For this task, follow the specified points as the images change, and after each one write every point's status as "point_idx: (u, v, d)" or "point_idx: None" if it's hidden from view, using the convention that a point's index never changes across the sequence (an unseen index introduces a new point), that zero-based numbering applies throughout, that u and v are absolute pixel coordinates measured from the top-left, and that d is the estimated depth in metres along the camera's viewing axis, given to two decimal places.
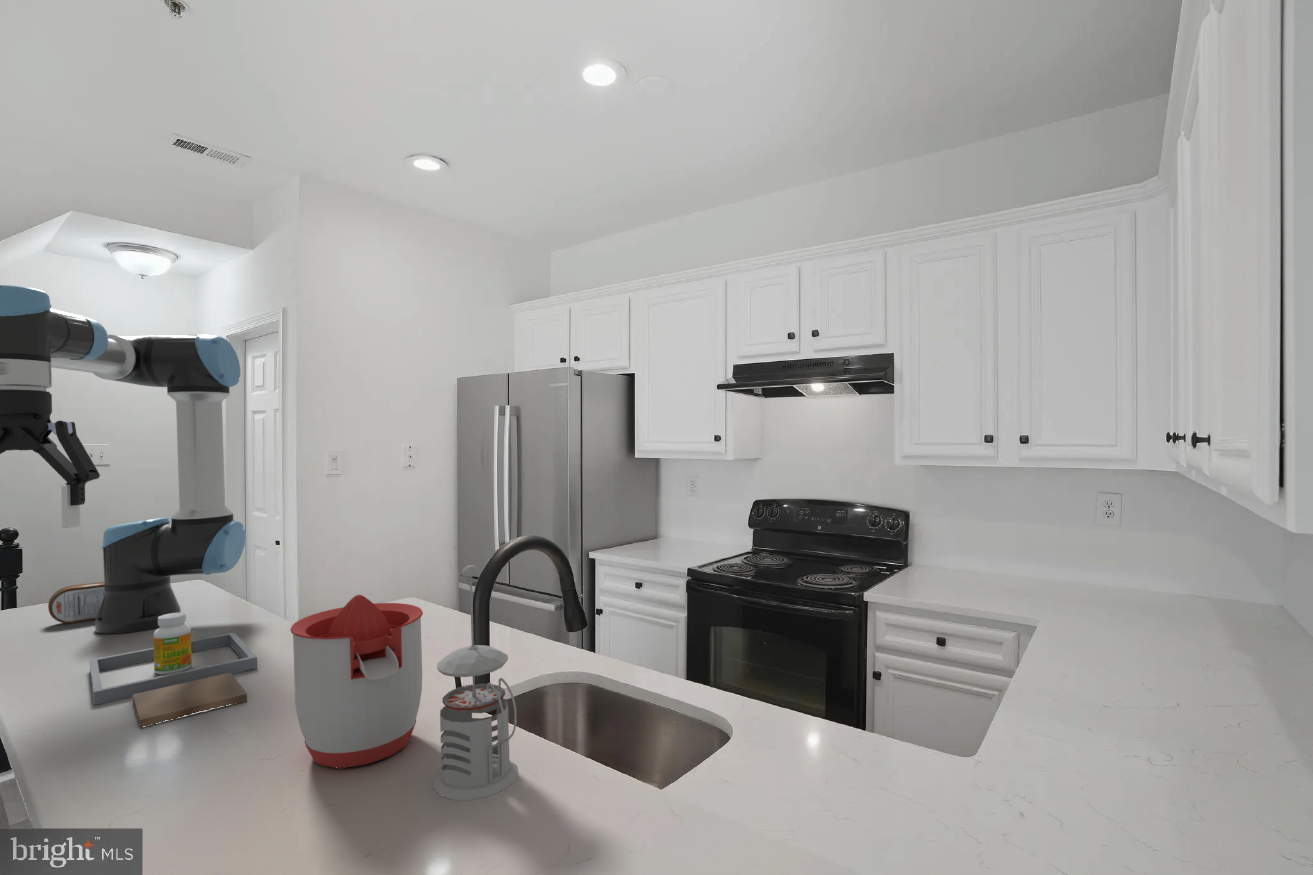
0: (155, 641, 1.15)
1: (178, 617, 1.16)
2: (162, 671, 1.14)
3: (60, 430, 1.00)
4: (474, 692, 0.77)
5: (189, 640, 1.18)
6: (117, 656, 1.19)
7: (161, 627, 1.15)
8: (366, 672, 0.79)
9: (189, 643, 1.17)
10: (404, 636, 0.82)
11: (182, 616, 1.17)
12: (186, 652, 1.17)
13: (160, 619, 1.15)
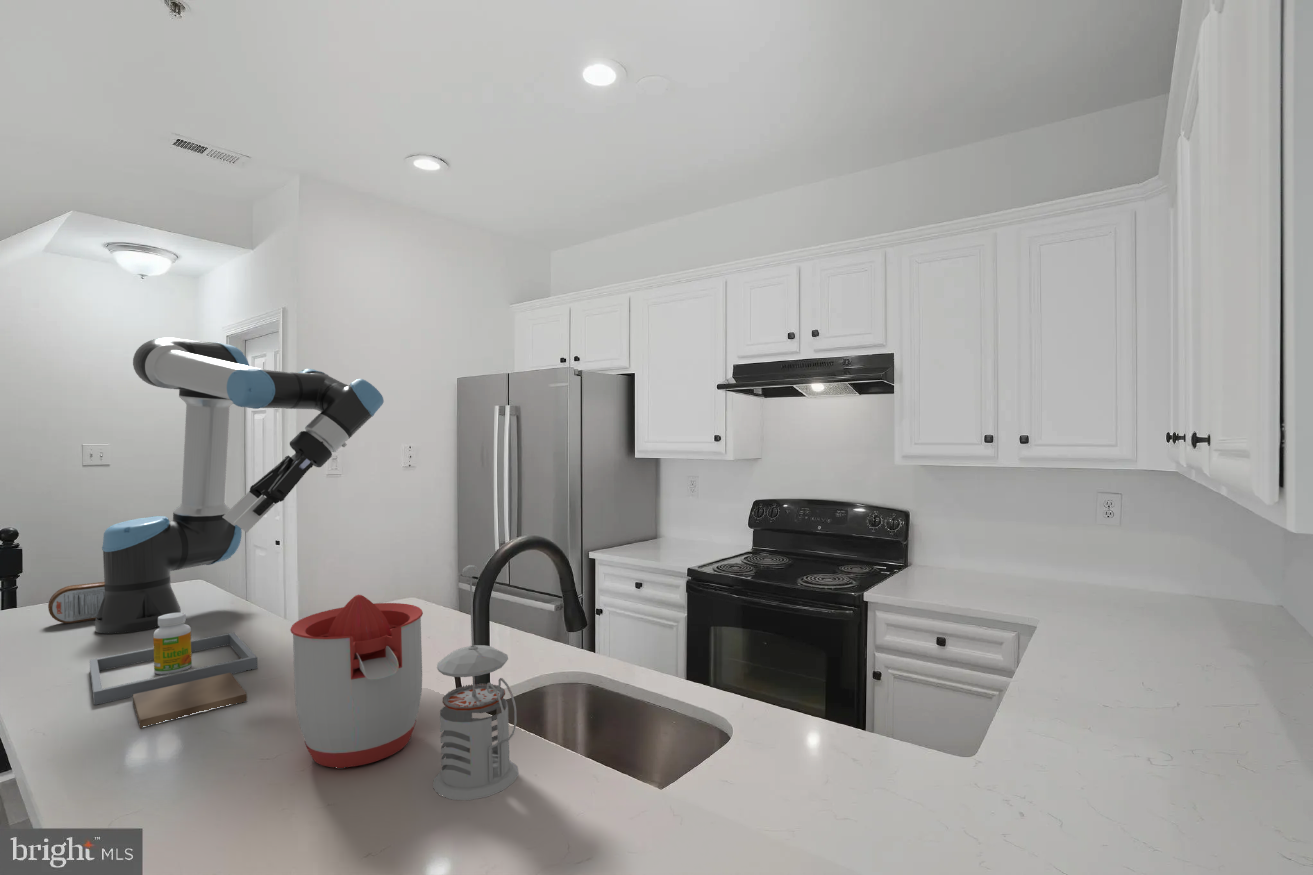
0: (155, 641, 1.15)
1: (178, 617, 1.16)
2: (162, 671, 1.14)
3: None
4: (474, 692, 0.77)
5: (189, 640, 1.18)
6: (117, 656, 1.19)
7: (161, 627, 1.15)
8: (366, 672, 0.79)
9: (189, 643, 1.17)
10: (404, 636, 0.82)
11: (182, 616, 1.17)
12: (186, 652, 1.17)
13: (160, 619, 1.15)
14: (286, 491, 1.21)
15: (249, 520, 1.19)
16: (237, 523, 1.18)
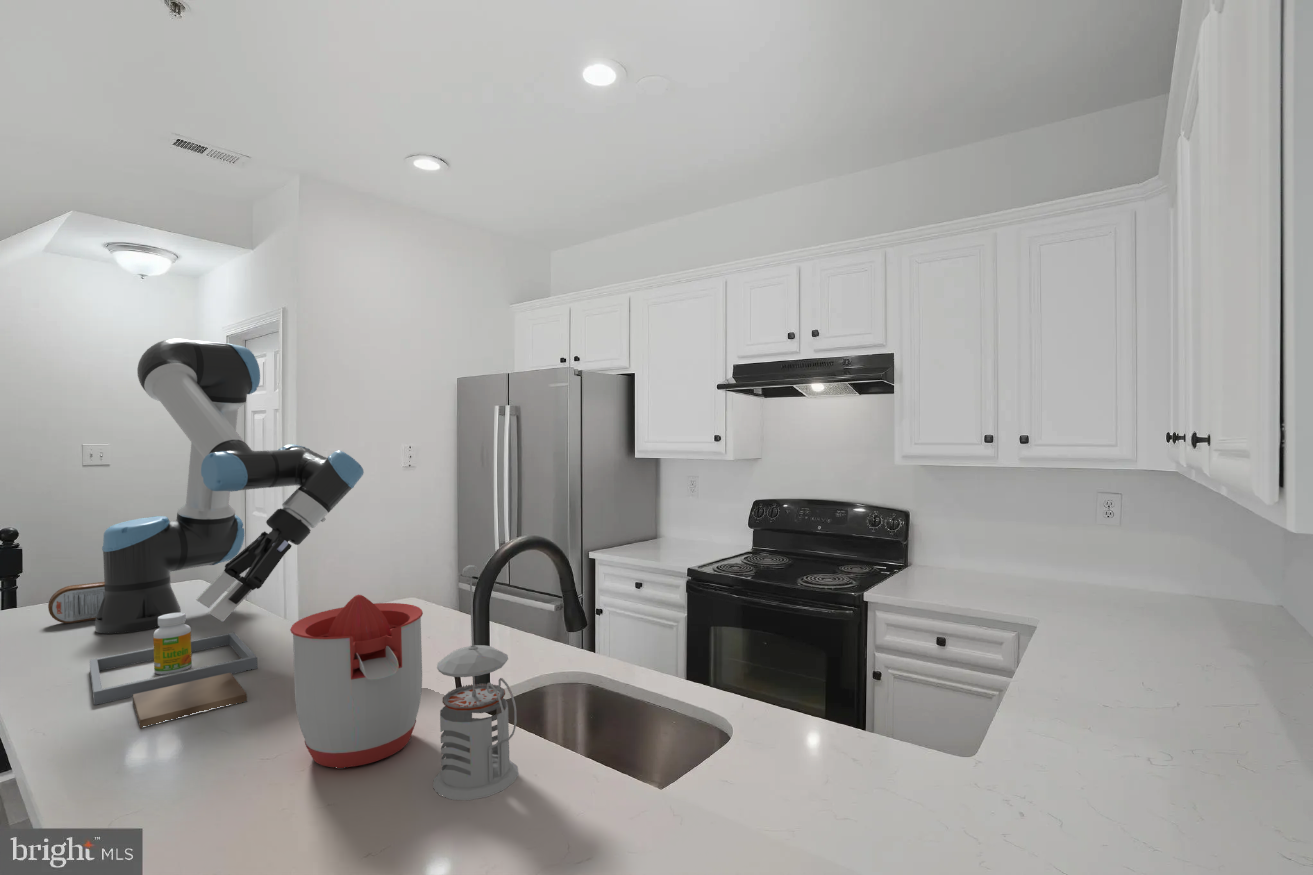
0: (155, 641, 1.15)
1: (178, 617, 1.16)
2: (162, 671, 1.14)
3: None
4: (474, 692, 0.77)
5: (189, 640, 1.18)
6: (117, 656, 1.19)
7: (161, 627, 1.15)
8: (366, 672, 0.79)
9: (189, 643, 1.17)
10: (404, 636, 0.82)
11: (182, 616, 1.17)
12: (186, 652, 1.17)
13: (160, 619, 1.15)
14: (263, 577, 1.17)
15: (225, 609, 1.15)
16: (212, 613, 1.14)
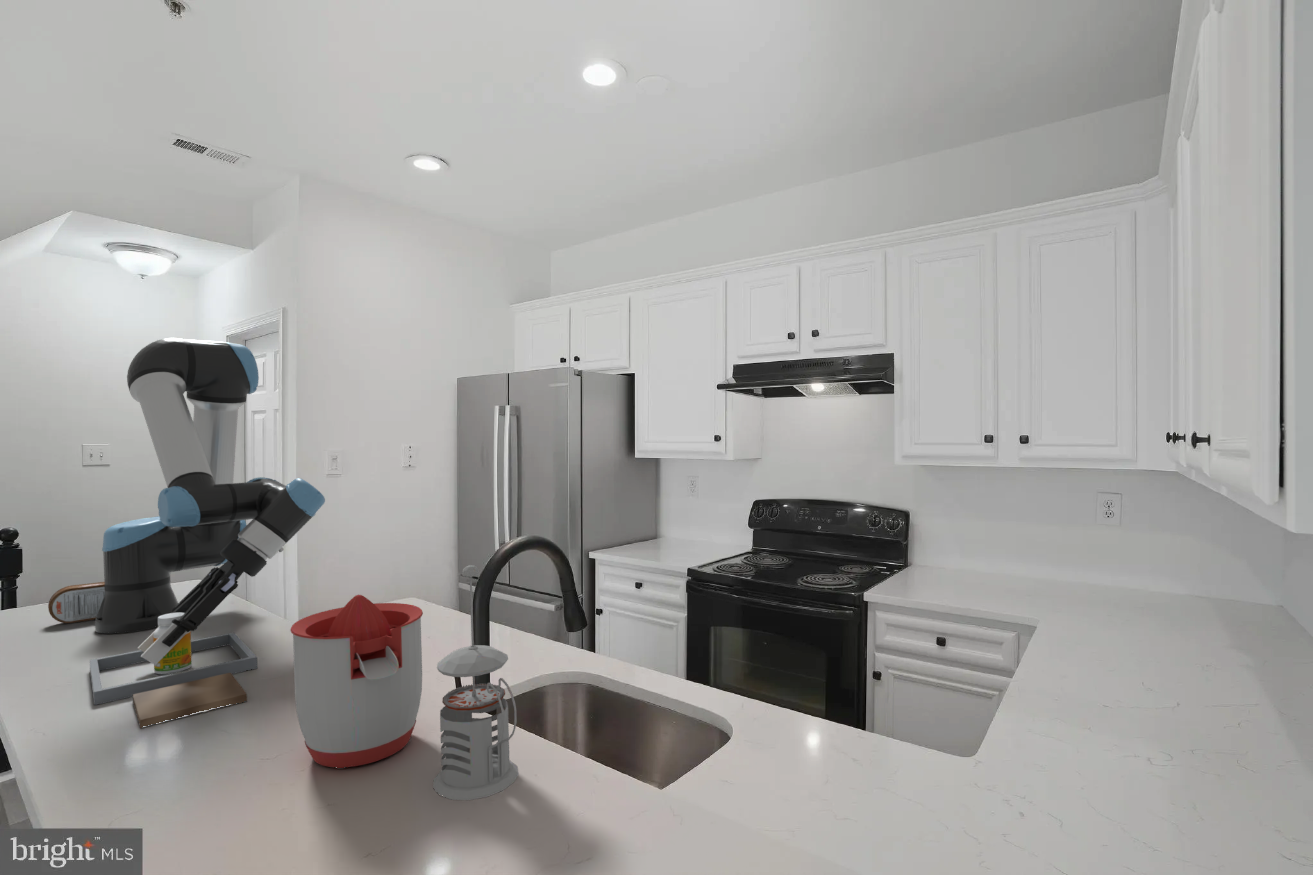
0: None
1: (178, 617, 1.16)
2: (162, 671, 1.14)
3: None
4: (474, 692, 0.77)
5: (189, 640, 1.18)
6: (117, 656, 1.19)
7: (161, 627, 1.15)
8: (366, 672, 0.79)
9: (189, 643, 1.17)
10: (404, 636, 0.82)
11: None
12: (185, 652, 1.17)
13: (160, 619, 1.15)
14: (199, 620, 1.14)
15: (158, 652, 1.13)
16: (144, 656, 1.12)
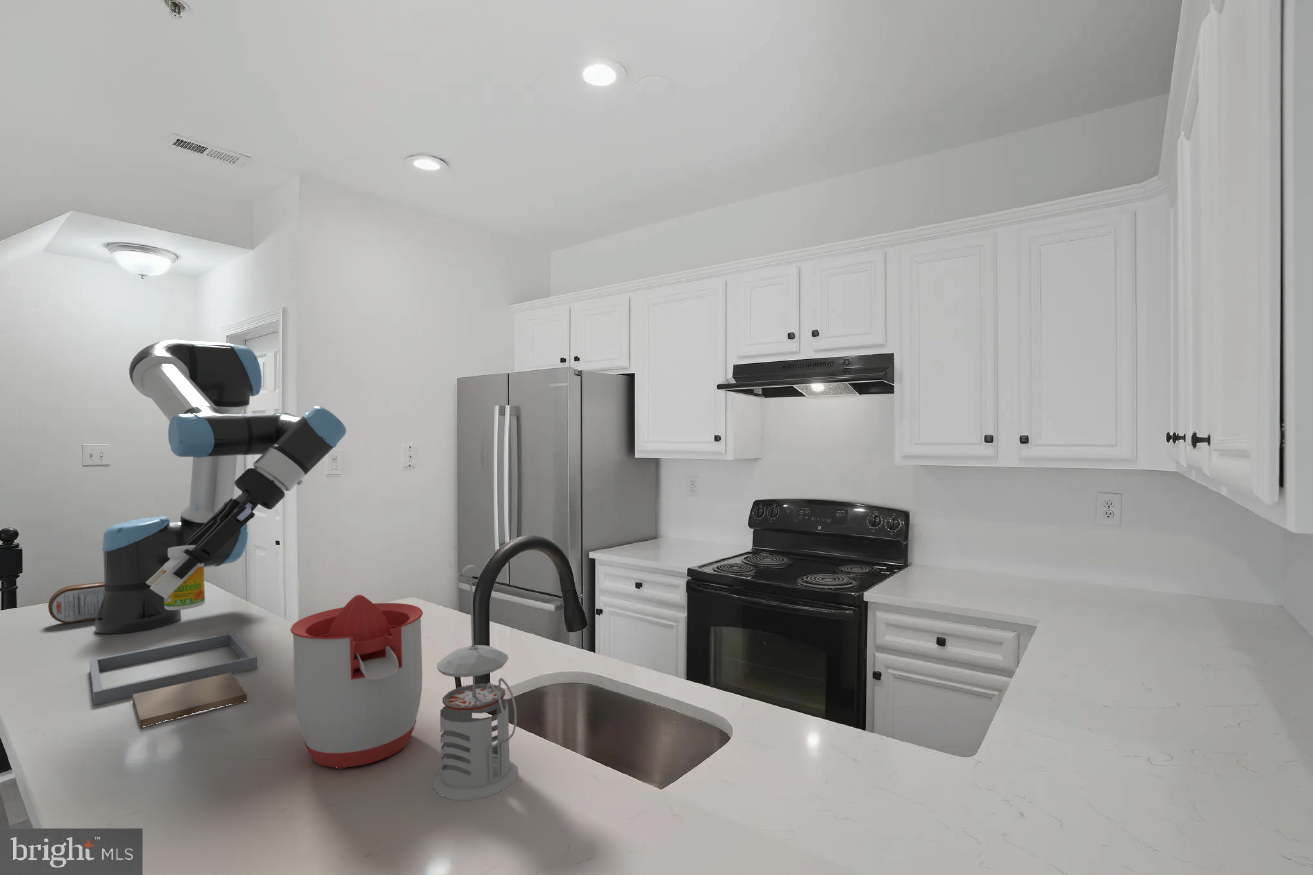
0: None
1: (190, 548, 1.06)
2: (173, 606, 1.04)
3: None
4: (474, 692, 0.77)
5: (202, 574, 1.08)
6: (117, 656, 1.19)
7: (171, 559, 1.05)
8: (366, 672, 0.79)
9: (202, 577, 1.08)
10: (404, 636, 0.82)
11: None
12: (198, 586, 1.07)
13: (170, 550, 1.05)
14: (213, 550, 1.04)
15: (169, 585, 1.03)
16: (154, 588, 1.02)
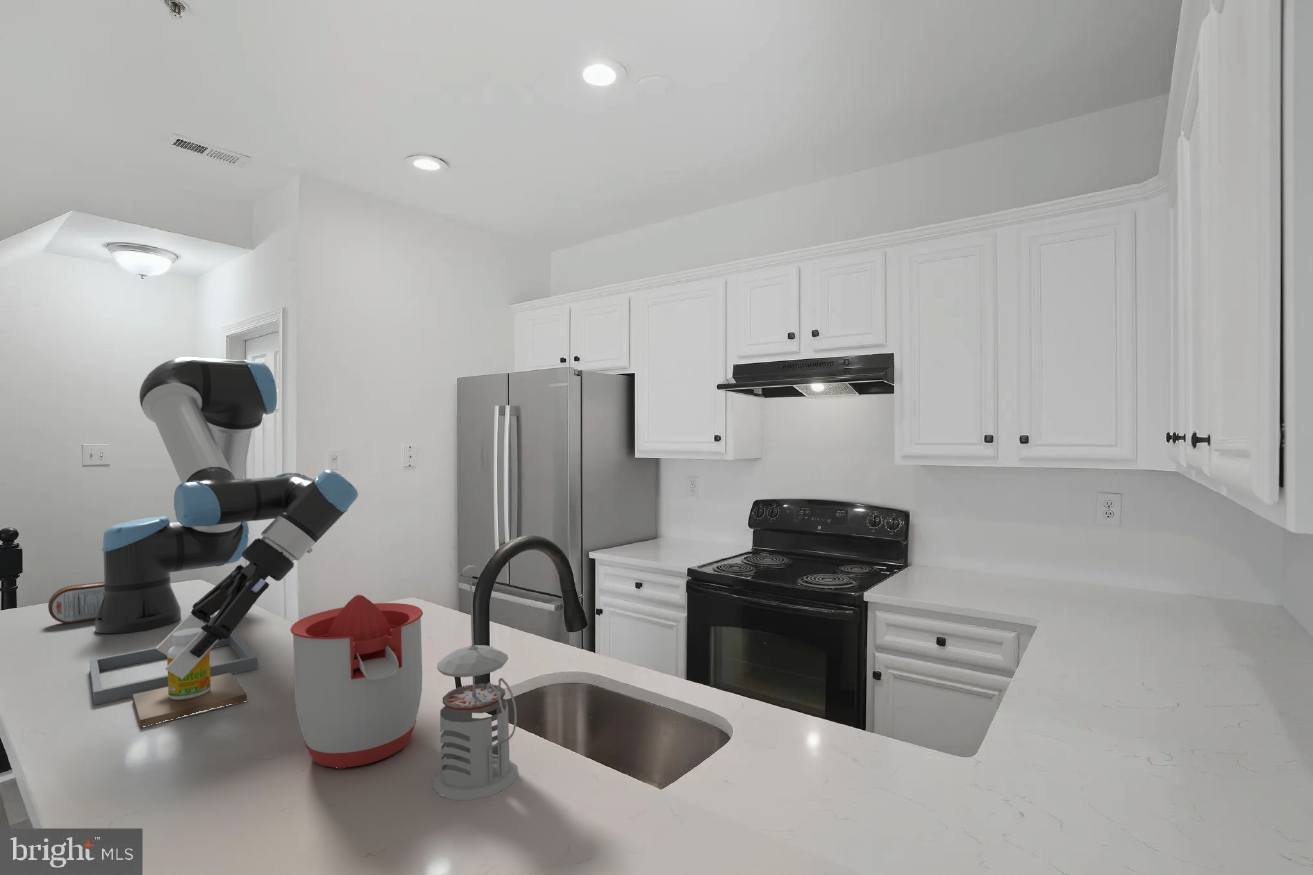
0: (169, 661, 1.00)
1: (195, 634, 1.01)
2: (177, 696, 1.00)
3: None
4: (474, 692, 0.77)
5: (208, 660, 1.03)
6: (117, 656, 1.19)
7: (176, 645, 1.01)
8: (366, 672, 0.79)
9: (208, 663, 1.03)
10: (404, 636, 0.82)
11: None
12: (204, 673, 1.02)
13: (175, 636, 1.00)
14: (233, 625, 0.98)
15: (186, 664, 0.96)
16: (170, 669, 0.95)
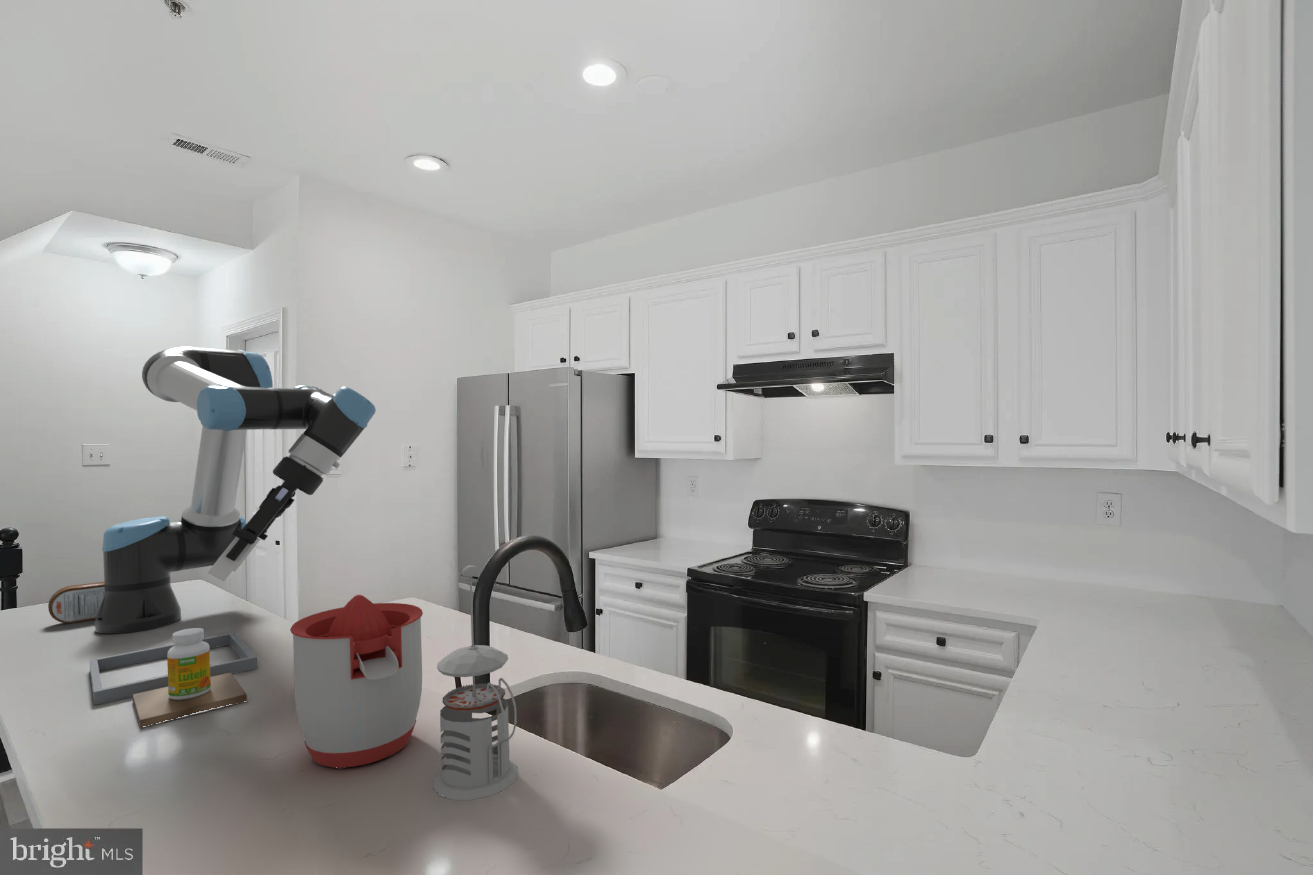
0: (169, 661, 1.00)
1: (196, 634, 1.01)
2: (177, 696, 1.00)
3: None
4: (474, 692, 0.77)
5: (208, 660, 1.03)
6: (117, 656, 1.19)
7: (176, 645, 1.01)
8: (366, 672, 0.79)
9: (208, 663, 1.03)
10: (404, 636, 0.82)
11: (200, 632, 1.02)
12: (204, 673, 1.02)
13: (175, 636, 1.00)
14: (258, 529, 1.04)
15: (225, 567, 1.03)
16: (211, 572, 1.02)
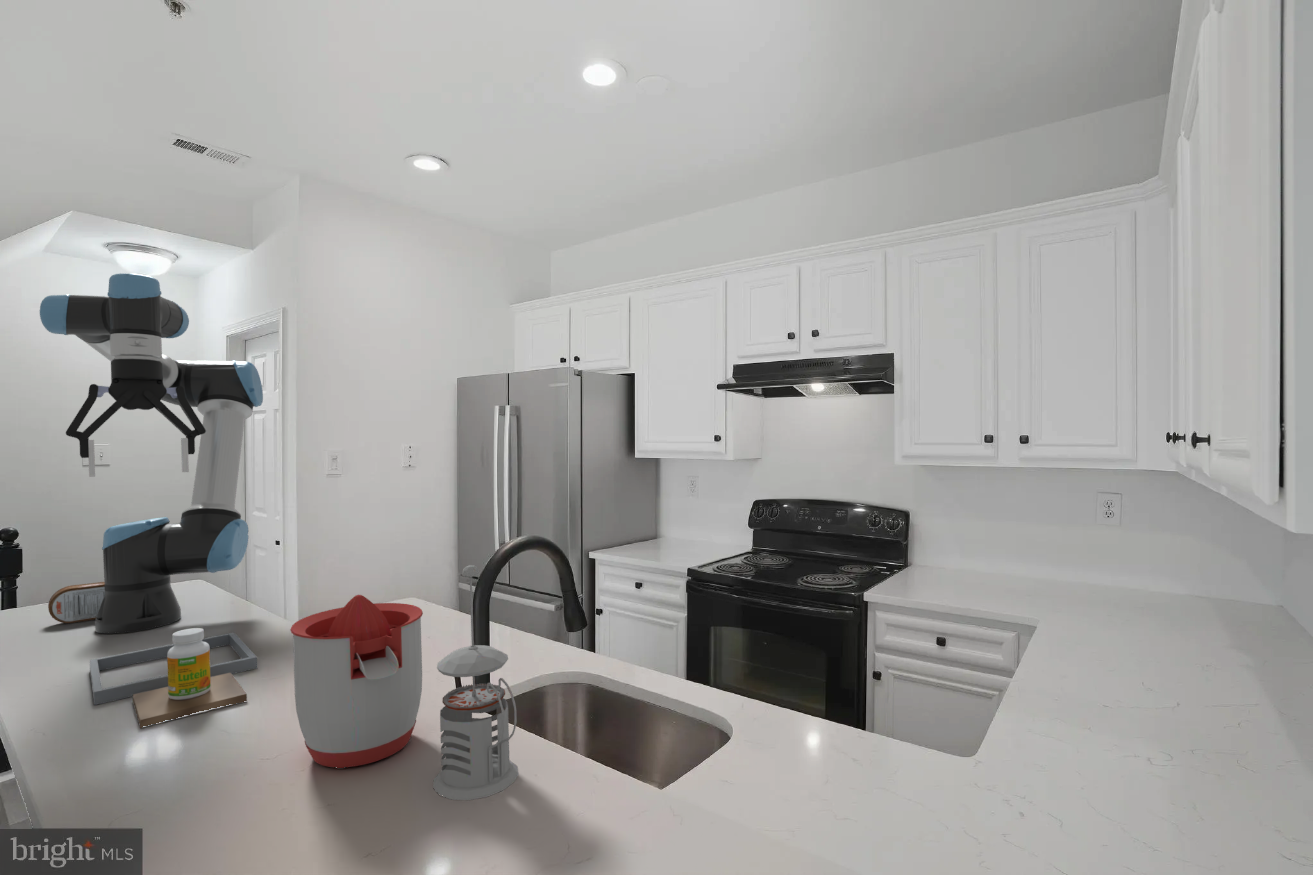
0: (169, 661, 1.00)
1: (196, 634, 1.01)
2: (177, 696, 1.00)
3: (180, 394, 1.25)
4: (474, 692, 0.77)
5: (208, 660, 1.03)
6: (117, 656, 1.19)
7: (176, 645, 1.01)
8: (366, 672, 0.79)
9: (208, 663, 1.03)
10: (404, 636, 0.82)
11: (200, 632, 1.02)
12: (204, 673, 1.02)
13: (175, 636, 1.00)
14: (70, 424, 1.15)
15: (89, 466, 1.17)
16: None
